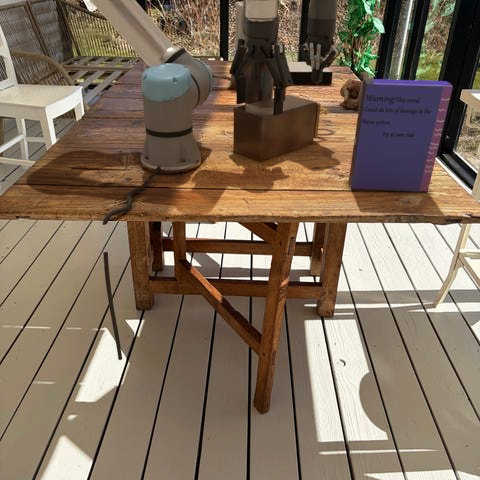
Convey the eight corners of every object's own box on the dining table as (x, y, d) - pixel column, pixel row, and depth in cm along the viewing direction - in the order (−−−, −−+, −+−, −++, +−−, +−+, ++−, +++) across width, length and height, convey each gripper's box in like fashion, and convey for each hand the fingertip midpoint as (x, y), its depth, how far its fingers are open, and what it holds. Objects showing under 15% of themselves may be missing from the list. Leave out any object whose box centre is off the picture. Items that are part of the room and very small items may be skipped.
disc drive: (289, 84, 198) (290, 71, 196) (284, 72, 218) (284, 61, 215) (331, 84, 199) (332, 72, 196) (322, 72, 218) (323, 61, 215)
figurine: (210, 87, 179) (288, 95, 182) (212, 65, 176) (291, 73, 180) (208, 84, 201) (278, 91, 205) (210, 64, 198) (280, 71, 202)
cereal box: (422, 183, 114) (445, 80, 101) (427, 192, 110) (453, 85, 97) (348, 180, 115) (363, 77, 102) (351, 189, 111) (366, 83, 98)
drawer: (305, 126, 148) (308, 93, 143) (330, 133, 142) (333, 100, 137) (244, 144, 133) (245, 109, 127) (268, 154, 127) (270, 117, 122)
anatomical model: (349, 110, 180) (352, 112, 166) (333, 93, 179) (334, 95, 165) (374, 84, 176) (379, 84, 162) (358, 67, 175) (361, 66, 161)
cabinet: (285, 134, 144) (288, 94, 138) (313, 143, 137) (317, 102, 131) (233, 150, 131) (233, 107, 125) (260, 161, 125) (262, 116, 119)
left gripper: (312, 22, 107) (305, 116, 118) (237, 13, 123) (237, 96, 134) (289, 25, 103) (284, 122, 114) (215, 15, 119) (216, 101, 130)
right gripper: (351, 17, 125) (343, 84, 134) (312, 12, 133) (307, 76, 142) (333, 19, 121) (326, 89, 130) (294, 14, 129) (290, 80, 138)
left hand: (258, 108), depth 124 cm, fingers open, 13 cm apart
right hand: (316, 82), depth 136 cm, fingers closed
